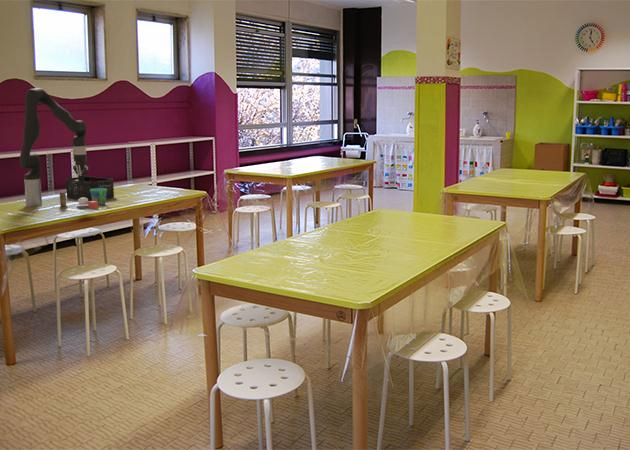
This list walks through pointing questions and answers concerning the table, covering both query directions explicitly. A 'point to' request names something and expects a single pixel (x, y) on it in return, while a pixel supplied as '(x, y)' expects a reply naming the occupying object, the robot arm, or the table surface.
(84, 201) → the dome
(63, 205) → the pawn
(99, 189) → the snack cup
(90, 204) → the board
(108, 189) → the storage bin
